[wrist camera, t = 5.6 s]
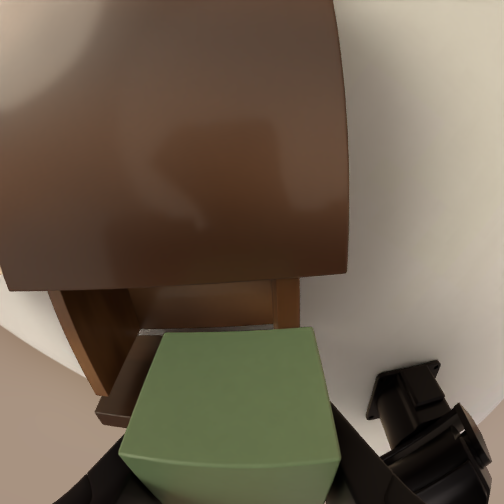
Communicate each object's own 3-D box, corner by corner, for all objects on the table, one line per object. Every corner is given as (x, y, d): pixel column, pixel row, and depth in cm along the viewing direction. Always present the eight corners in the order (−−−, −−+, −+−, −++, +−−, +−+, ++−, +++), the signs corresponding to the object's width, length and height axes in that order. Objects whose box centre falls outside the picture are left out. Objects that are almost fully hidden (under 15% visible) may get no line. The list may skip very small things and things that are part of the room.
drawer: (295, 384, 21) (307, 464, 15) (151, 387, 22) (129, 460, 15) (288, 127, 15) (318, 123, 8) (87, 156, 15) (2, 179, 8)
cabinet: (301, 202, 17) (347, 274, 9) (98, 223, 17) (8, 292, 9) (280, -28, 12) (300, -123, 3) (80, 12, 12) (-9, -30, 3)
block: (307, 415, 10) (319, 517, 6) (192, 417, 10) (173, 515, 6) (313, 325, 8) (342, 459, 4) (163, 331, 9) (116, 453, 5)
